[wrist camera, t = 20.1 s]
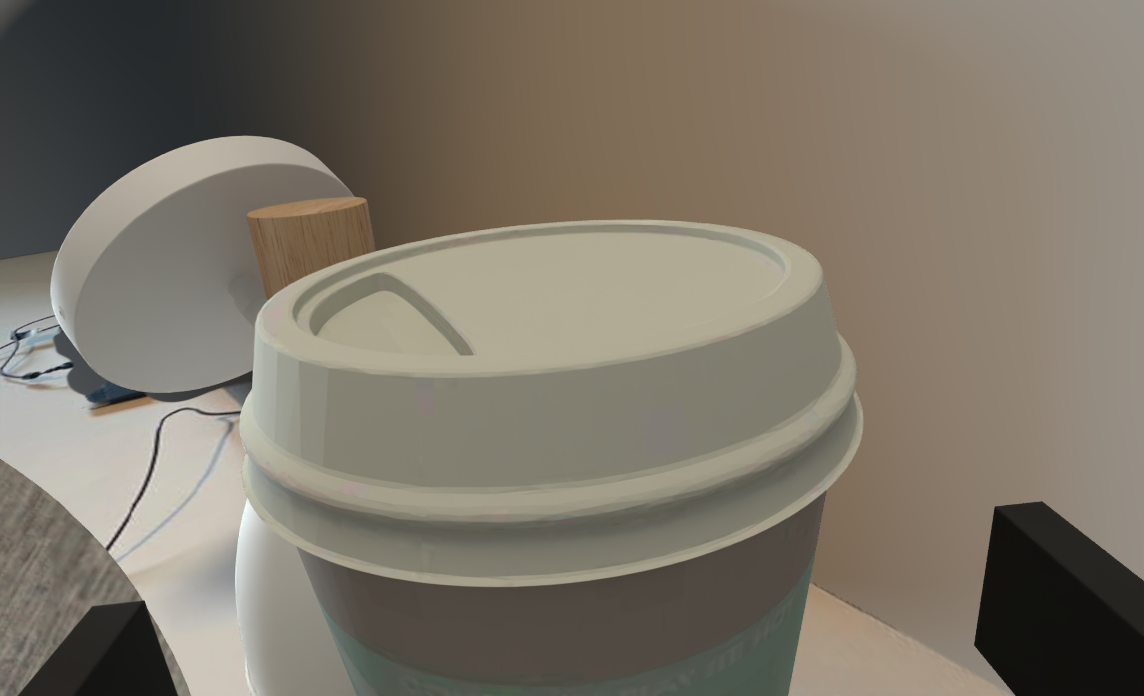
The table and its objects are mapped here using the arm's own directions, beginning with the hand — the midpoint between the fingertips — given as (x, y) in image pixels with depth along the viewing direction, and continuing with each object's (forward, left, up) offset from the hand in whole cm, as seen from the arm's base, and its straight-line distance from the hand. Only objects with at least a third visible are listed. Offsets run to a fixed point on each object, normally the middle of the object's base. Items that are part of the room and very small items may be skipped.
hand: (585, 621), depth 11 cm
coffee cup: (0, -3, -10) cm, 11 cm away
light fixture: (+10, -19, -14) cm, 26 cm away
